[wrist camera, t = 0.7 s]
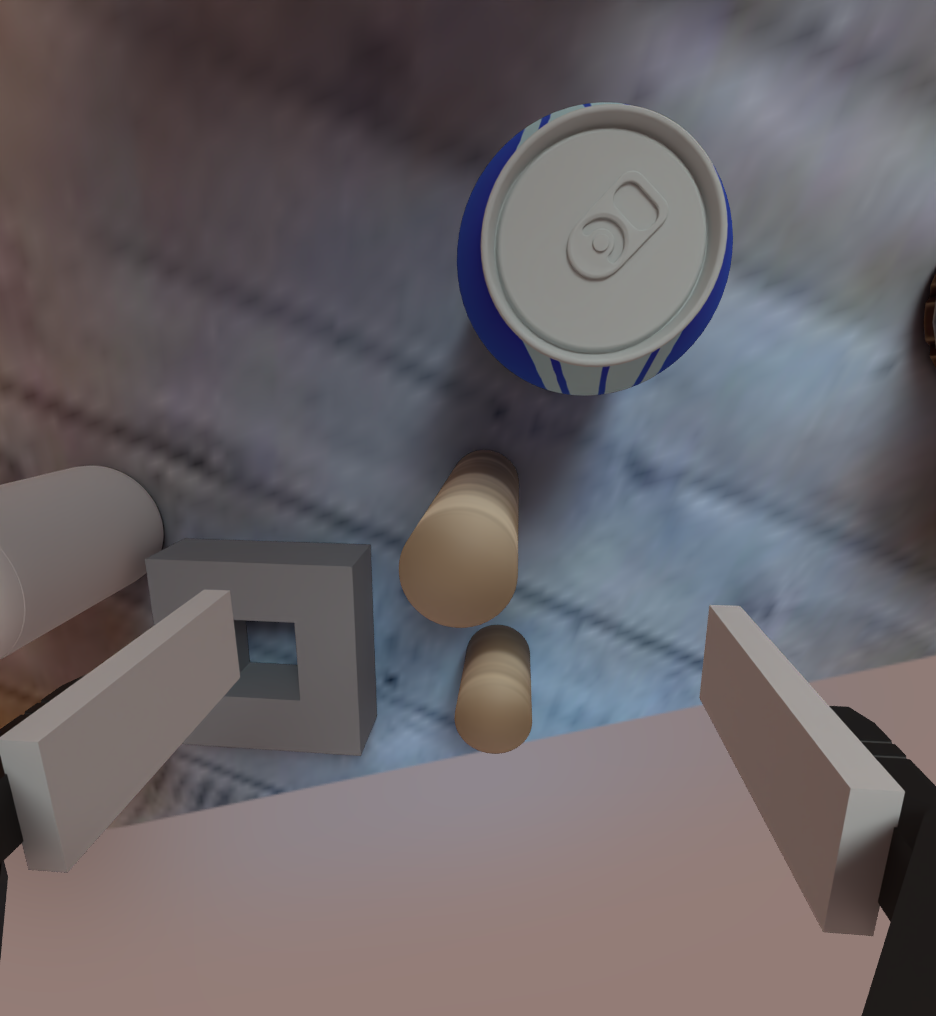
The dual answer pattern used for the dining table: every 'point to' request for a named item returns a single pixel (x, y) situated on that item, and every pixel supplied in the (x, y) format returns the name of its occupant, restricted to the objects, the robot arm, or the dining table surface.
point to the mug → (931, 321)
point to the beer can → (594, 248)
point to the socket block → (318, 629)
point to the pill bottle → (69, 546)
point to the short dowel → (495, 691)
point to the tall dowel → (466, 545)
